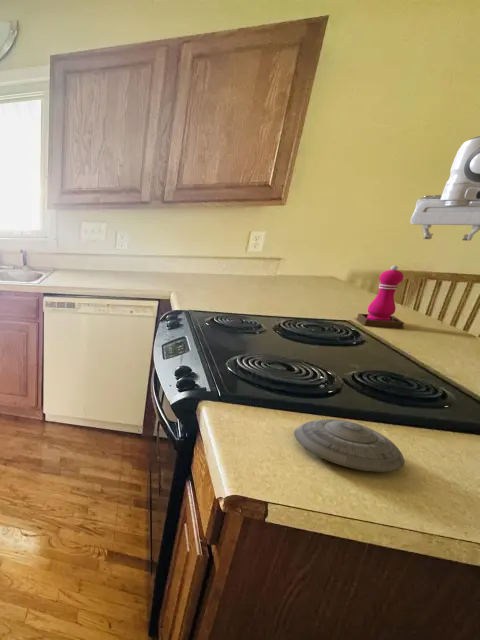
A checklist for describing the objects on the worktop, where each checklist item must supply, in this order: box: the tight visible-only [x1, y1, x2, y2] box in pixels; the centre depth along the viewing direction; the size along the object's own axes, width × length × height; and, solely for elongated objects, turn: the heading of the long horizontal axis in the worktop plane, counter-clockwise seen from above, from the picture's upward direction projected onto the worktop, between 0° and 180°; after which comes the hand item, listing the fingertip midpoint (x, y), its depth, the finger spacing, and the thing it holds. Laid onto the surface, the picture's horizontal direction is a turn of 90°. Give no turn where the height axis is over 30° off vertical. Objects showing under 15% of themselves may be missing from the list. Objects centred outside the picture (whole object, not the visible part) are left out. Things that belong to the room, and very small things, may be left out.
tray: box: [356, 313, 405, 329], centre depth 142 cm, size 10×10×2 cm
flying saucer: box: [293, 418, 406, 473], centre depth 69 cm, size 15×15×6 cm
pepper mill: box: [366, 265, 404, 321], centre depth 139 cm, size 7×7×20 cm
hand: (446, 239), depth 129 cm, fingers open, 8 cm apart
